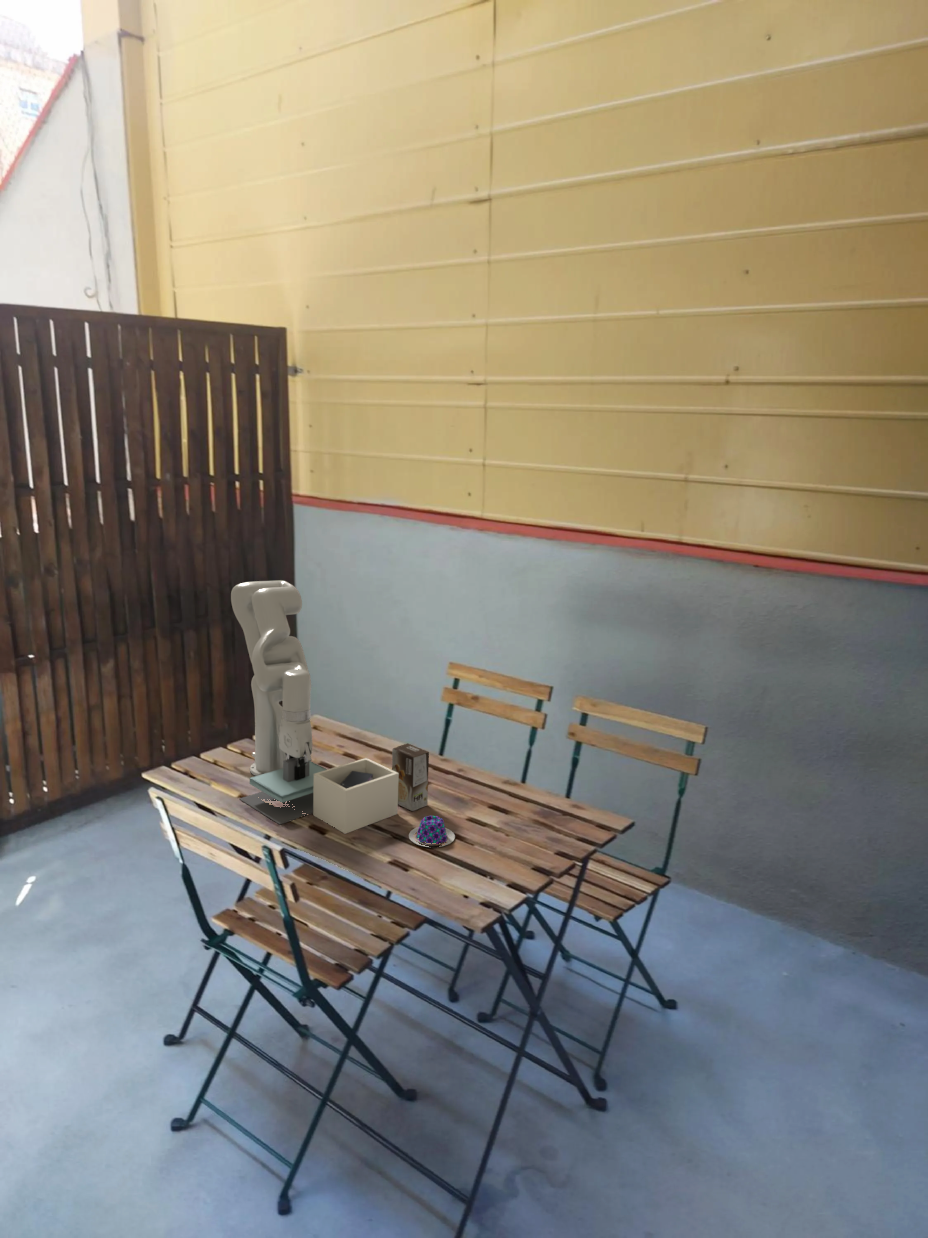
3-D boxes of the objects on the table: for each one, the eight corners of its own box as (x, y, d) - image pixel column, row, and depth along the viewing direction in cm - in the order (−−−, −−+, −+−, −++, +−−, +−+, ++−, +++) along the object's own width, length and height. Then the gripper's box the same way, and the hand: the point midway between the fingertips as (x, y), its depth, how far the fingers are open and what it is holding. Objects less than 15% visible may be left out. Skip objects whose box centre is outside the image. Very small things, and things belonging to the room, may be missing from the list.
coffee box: (428, 805, 234) (430, 751, 231) (412, 812, 230) (414, 757, 226) (406, 794, 240) (408, 742, 237) (389, 801, 236) (391, 748, 232)
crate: (313, 815, 225) (313, 773, 222) (365, 797, 238) (366, 757, 235) (344, 833, 215) (345, 791, 213) (397, 814, 228) (398, 773, 225)
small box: (360, 825, 221) (361, 788, 219) (337, 821, 222) (338, 785, 220) (372, 808, 231) (373, 773, 229) (350, 805, 232) (351, 770, 230)
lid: (249, 784, 231) (249, 759, 229) (309, 766, 245) (309, 743, 243) (282, 802, 220) (281, 777, 218) (342, 783, 234) (342, 758, 233)
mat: (239, 799, 232) (239, 798, 232) (310, 777, 249) (310, 776, 249) (279, 824, 219) (279, 823, 218) (352, 799, 235) (352, 798, 235)
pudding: (409, 827, 222) (410, 808, 220) (454, 828, 222) (455, 810, 221) (407, 849, 210) (408, 830, 209) (454, 850, 210) (455, 831, 209)
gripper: (268, 709, 231) (269, 771, 235) (302, 724, 220) (302, 789, 224) (291, 704, 236) (291, 765, 240) (325, 719, 225) (324, 782, 229)
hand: (296, 776), depth 232 cm, fingers closed on lid, 2 cm apart
